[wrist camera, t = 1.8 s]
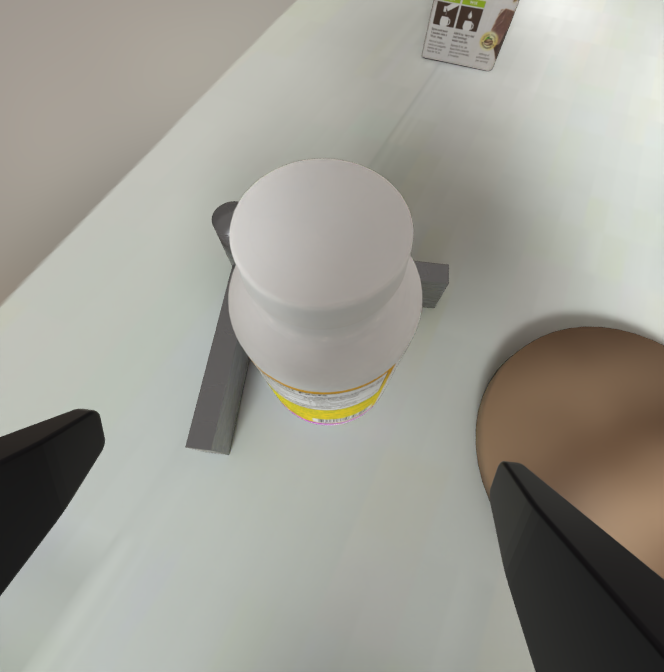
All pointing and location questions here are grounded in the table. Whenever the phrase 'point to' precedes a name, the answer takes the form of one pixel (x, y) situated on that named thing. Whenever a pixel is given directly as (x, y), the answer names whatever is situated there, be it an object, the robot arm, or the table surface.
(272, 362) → the supplement bottle
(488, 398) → the copper plate
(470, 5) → the coffee box
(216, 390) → the rack bracket
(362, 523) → the table surface
